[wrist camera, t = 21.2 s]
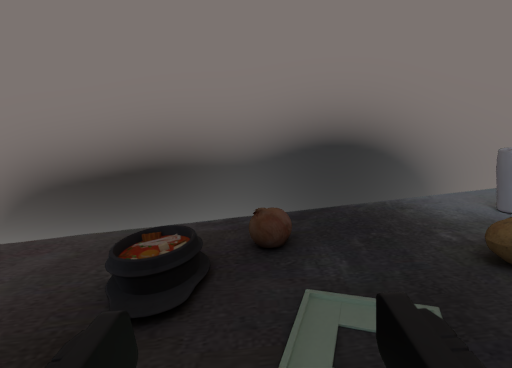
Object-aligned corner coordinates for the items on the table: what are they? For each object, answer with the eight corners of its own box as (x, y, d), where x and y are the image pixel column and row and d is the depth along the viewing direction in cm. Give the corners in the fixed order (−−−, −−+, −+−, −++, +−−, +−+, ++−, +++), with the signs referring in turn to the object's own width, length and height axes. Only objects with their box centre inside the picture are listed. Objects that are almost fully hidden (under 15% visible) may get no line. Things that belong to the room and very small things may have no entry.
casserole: (129, 258, 64) (121, 223, 62) (211, 245, 67) (206, 211, 65) (80, 340, 40) (65, 288, 38) (211, 315, 43) (203, 265, 41)
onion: (256, 259, 64) (232, 223, 63) (280, 234, 70) (258, 201, 69) (283, 258, 57) (257, 216, 55) (308, 230, 62) (284, 192, 61)
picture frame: (270, 402, 29) (269, 392, 29) (306, 295, 45) (305, 288, 45) (487, 467, 22) (488, 456, 22) (438, 314, 38) (438, 307, 38)
